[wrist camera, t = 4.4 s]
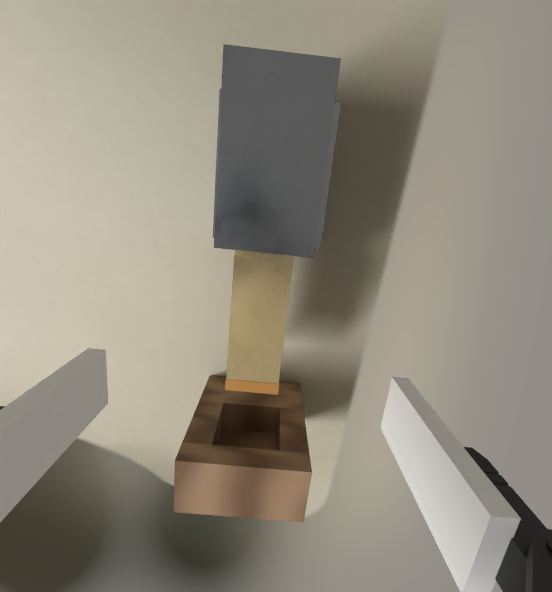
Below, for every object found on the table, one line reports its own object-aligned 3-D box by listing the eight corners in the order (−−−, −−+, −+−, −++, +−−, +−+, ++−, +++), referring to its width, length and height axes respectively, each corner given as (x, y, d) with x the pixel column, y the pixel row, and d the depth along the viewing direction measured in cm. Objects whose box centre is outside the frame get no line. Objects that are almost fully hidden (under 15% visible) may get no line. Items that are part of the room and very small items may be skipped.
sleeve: (221, 234, 32) (192, 245, 21) (228, 107, 29) (198, 41, 18) (314, 244, 32) (334, 260, 21) (331, 119, 29) (365, 61, 18)
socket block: (207, 413, 38) (174, 511, 25) (209, 375, 36) (174, 460, 24) (294, 420, 38) (303, 522, 26) (299, 384, 37) (311, 472, 24)
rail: (232, 364, 30) (224, 389, 25) (250, 115, 24) (244, 93, 20) (277, 368, 30) (278, 394, 25) (306, 121, 24) (312, 101, 20)
